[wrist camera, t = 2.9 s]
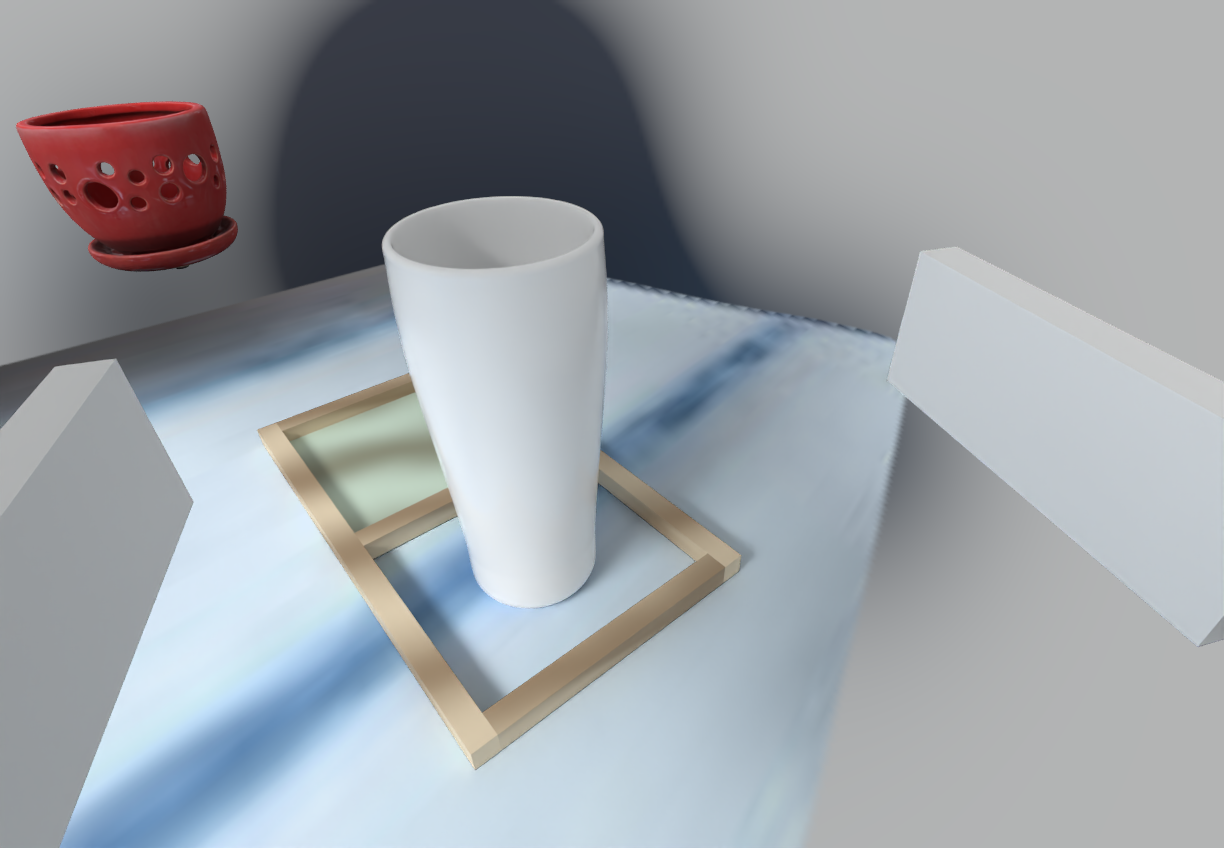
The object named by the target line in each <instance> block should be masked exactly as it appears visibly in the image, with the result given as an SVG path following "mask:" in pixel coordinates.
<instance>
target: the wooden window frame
mask: <svg viewBox="0 0 1224 848" xmlns="http://www.w3.org/2000/svg"><path fill="white" fill-rule="evenodd" d="M257 431H258V433H259V436H260V438H261V440H262V443H263V445H264V446H265V448H266V449H267V451H268V453H269V454H270V456H271V457H272V459H273V460H274V462H275V463H276V465H277V466H278V468H279V469H280V471H281V473H282V474H283V476H284V477H285V479H286V480H287V482H288V483H289V485H290V486H291V488H292V489H293V491H294V492H295V494H296V496H297V497H298V499H299V500H300V502H301V503H302V505H303V506H304V508H305V509H306V511H307V512H308V514H309V516H310V517H311V519H312V520H313V522H314V523H315V525H316V526H317V528H318V529H319V531H320V532H321V534H322V535H323V537H324V539H325V540H326V542H327V543H328V545H329V546H330V548H331V549H332V551H333V552H334V554H335V555H336V557H337V559H338V560H339V562H340V563H341V565H342V566H343V568H344V569H345V571H346V572H347V574H348V575H349V577H350V578H351V580H352V582H353V583H354V585H355V586H356V588H357V589H358V591H359V592H360V594H361V595H362V597H363V598H364V600H365V602H366V603H367V605H368V606H369V608H370V609H371V611H372V612H373V614H374V615H375V617H376V618H377V620H378V621H379V623H380V625H381V626H382V628H383V629H384V631H385V632H386V634H387V635H388V637H389V638H390V640H391V641H392V643H393V645H394V646H395V648H396V649H397V651H398V652H399V654H400V655H401V657H402V658H403V660H404V661H405V663H406V664H407V666H408V668H409V669H410V671H411V672H412V674H413V675H414V677H415V678H416V680H417V681H418V683H419V684H420V686H421V688H422V689H423V691H424V692H425V694H426V695H427V697H428V698H429V700H430V701H431V703H432V704H433V706H434V707H435V709H436V711H437V712H438V714H439V715H440V717H441V718H442V720H443V721H444V723H445V724H446V726H447V727H448V729H449V731H450V732H451V734H452V735H453V737H454V738H455V740H456V741H457V743H458V744H459V746H460V747H461V749H462V750H463V752H464V754H465V755H466V757H467V758H468V760H469V761H470V763H471V764H472V766H473V767H474V769H475V770H476V769H477V768H479V767H480V766H481V765H483V764H484V763H485V762H487V761H488V760H489V759H491V758H492V757H493V756H495V755H496V754H497V753H499V752H500V751H501V750H502V749H504V748H505V747H506V746H508V745H509V744H510V743H512V742H513V741H514V740H516V739H517V738H518V737H520V736H521V735H522V734H524V733H525V732H526V731H528V730H529V729H530V728H532V727H533V726H534V725H536V724H537V723H538V722H540V721H541V720H542V719H544V718H545V717H546V716H548V715H549V714H550V713H552V712H553V711H554V710H556V709H557V708H558V707H560V706H561V705H562V704H563V703H565V702H566V701H567V700H569V699H570V698H571V697H573V696H574V695H575V694H577V693H578V692H579V691H581V690H582V689H583V688H585V687H586V686H587V685H589V684H590V683H591V682H593V681H594V680H595V679H597V678H598V677H599V676H601V675H602V674H603V673H605V672H606V671H607V670H609V669H610V668H611V667H613V666H614V665H615V664H617V663H618V662H619V661H621V660H622V659H623V658H625V657H626V656H627V655H628V654H630V653H631V652H632V651H634V650H635V649H636V648H638V647H639V646H640V645H642V644H643V643H644V642H646V641H647V640H648V639H650V638H651V637H652V636H654V635H655V634H656V633H658V632H659V631H660V630H662V629H663V628H664V627H666V626H667V625H668V624H670V623H671V622H672V621H674V620H675V619H676V618H678V617H679V616H680V615H682V614H683V613H684V612H686V611H687V610H688V609H689V608H691V607H692V606H693V605H695V604H696V603H697V602H699V601H700V600H701V599H703V598H704V597H705V596H707V595H708V594H709V593H711V592H712V591H713V590H715V589H716V588H717V587H719V586H720V585H721V584H723V583H724V582H725V581H727V580H728V579H729V578H731V577H732V576H733V575H735V574H736V573H737V572H739V568H740V561H741V555H740V554H739V553H738V552H736V551H735V550H734V549H732V548H731V547H730V546H728V545H727V544H726V543H724V542H723V541H722V540H720V539H719V538H718V537H716V536H715V535H714V534H712V533H711V532H710V531H708V530H707V529H706V528H704V527H703V526H702V525H700V524H699V523H698V522H696V521H695V520H694V519H692V518H691V517H690V516H688V515H687V514H686V513H684V512H683V511H682V510H680V509H679V508H678V507H676V506H675V505H674V504H672V503H671V502H670V501H668V500H667V499H666V498H664V497H663V496H662V495H660V494H659V493H657V492H656V491H655V490H653V489H652V488H651V487H649V486H648V485H647V484H645V483H644V482H643V481H641V480H640V479H639V478H637V477H636V476H635V475H633V474H632V473H631V472H629V471H628V470H627V469H625V468H624V467H623V466H621V465H620V464H619V463H617V462H616V461H615V460H613V459H612V458H611V457H609V456H608V455H607V454H605V453H604V452H603V451H601V450H600V462H599V475H598V483H599V484H600V485H602V486H603V487H604V488H605V489H607V490H608V491H609V492H610V493H612V494H613V495H614V496H615V497H617V498H618V499H619V500H620V501H621V502H623V503H624V504H625V505H626V506H628V507H629V508H630V509H631V510H633V511H634V512H635V513H636V514H638V515H639V516H640V517H641V518H643V519H644V520H645V521H646V522H648V523H649V524H650V525H651V526H653V527H654V528H655V529H656V530H658V531H659V532H660V533H661V534H663V535H664V536H665V537H666V538H668V539H669V540H670V541H671V542H673V543H674V544H675V545H676V546H678V547H679V548H680V549H681V550H683V551H684V552H685V553H686V554H688V555H689V556H690V557H691V558H693V559H694V560H695V561H696V562H695V563H693V564H692V565H690V566H689V567H688V568H686V569H685V570H683V571H682V572H681V573H679V574H678V575H676V576H675V577H673V578H672V579H671V580H669V581H668V582H666V583H665V584H664V585H662V586H661V587H659V588H658V589H656V590H655V591H654V592H652V593H651V594H649V595H648V596H647V597H645V598H644V599H642V600H641V601H639V602H638V603H637V604H635V605H634V606H632V607H631V608H630V609H628V610H627V611H625V612H624V613H623V614H621V615H620V616H618V617H617V618H615V619H614V620H613V621H611V622H610V623H608V624H607V625H606V626H604V627H603V628H601V629H600V630H598V631H597V632H596V633H594V634H593V635H591V636H590V637H589V638H587V639H586V640H584V641H583V642H581V643H580V644H579V645H577V646H576V647H574V648H573V649H572V650H570V651H569V652H567V653H566V654H564V655H563V656H562V657H560V658H559V659H557V660H556V661H555V662H553V663H552V664H550V665H549V666H548V667H546V668H545V669H543V670H542V671H540V672H539V673H538V674H536V675H535V676H533V677H532V678H531V679H529V680H528V681H526V682H525V683H523V684H522V685H521V686H519V687H518V688H516V689H515V690H514V691H512V692H511V693H509V694H508V695H506V696H505V697H504V698H502V699H501V700H499V701H498V702H497V703H495V704H494V705H492V706H491V707H489V708H488V709H487V710H485V711H484V712H481V711H480V709H479V708H478V706H477V705H476V704H475V702H474V701H473V699H472V698H471V697H470V695H469V694H468V692H467V691H466V690H465V688H464V687H463V685H462V684H461V682H460V681H459V680H458V678H457V677H456V675H455V674H454V673H453V671H452V670H451V668H450V667H449V666H448V664H447V663H446V661H445V660H444V659H443V657H442V656H441V654H440V653H439V651H438V650H437V649H436V647H435V646H434V644H433V643H432V642H431V640H430V639H429V637H428V636H427V635H426V633H425V632H424V630H423V629H422V628H421V626H420V625H419V623H418V622H417V621H416V619H415V618H414V616H413V615H412V613H411V612H410V611H409V609H408V608H407V606H406V605H405V604H404V602H403V601H402V599H401V598H400V597H399V595H398V594H397V592H396V591H395V590H394V588H393V587H392V585H391V584H390V582H389V581H388V580H387V578H386V577H385V575H384V574H383V573H382V571H381V570H380V568H379V567H378V566H377V564H376V563H375V561H374V560H373V559H374V558H376V557H378V556H380V555H382V554H384V553H386V552H388V551H390V550H392V549H394V548H396V547H398V546H400V545H402V544H404V543H405V542H407V541H409V540H411V539H413V538H415V537H417V536H419V535H421V534H423V533H425V532H427V531H429V530H431V529H433V528H434V527H436V526H438V525H440V524H442V523H444V522H446V521H448V520H450V519H452V518H454V517H456V516H457V514H456V511H455V508H454V505H453V502H452V499H451V496H450V493H449V490H448V487H447V484H446V481H445V478H444V475H443V472H442V469H441V466H440V463H439V460H438V457H437V454H436V451H435V449H434V446H433V443H432V440H431V437H430V434H429V431H428V428H427V425H426V422H425V419H424V417H423V414H422V411H421V408H420V405H419V402H418V399H417V396H416V393H415V390H414V387H413V384H412V381H411V377H410V374H409V373H408V374H405V375H402V376H400V377H397V378H394V379H392V380H389V381H386V382H384V383H381V384H378V385H376V386H373V387H370V388H368V389H365V390H362V391H360V392H357V393H354V394H352V395H349V396H346V397H344V398H341V399H338V400H336V401H333V402H330V403H328V404H325V405H322V406H319V407H317V408H314V409H311V410H309V411H306V412H303V413H301V414H298V415H295V416H293V417H290V418H287V419H285V420H282V421H279V422H277V423H274V424H271V425H269V426H266V427H263V428H261V429H258V430H257Z"/></svg>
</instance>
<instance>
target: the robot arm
mask: <svg viewBox="0 0 1224 848" xmlns="http://www.w3.org/2000/svg"><path fill="white" fill-rule="evenodd" d="M887 381H888V382H889V383H890V384H891V385H893V386H894V387H895V388H896V389H897V390H898V391H900V392H901V393H902V394H903V395H904V396H905V397H907V398H908V399H909V400H910V401H911V402H913V403H914V404H915V405H916V406H917V407H918V408H919V409H921V410H922V411H923V412H924V413H925V414H926V415H928V416H929V417H930V418H931V419H932V420H933V421H935V422H936V423H937V424H938V425H939V426H940V427H942V428H943V429H944V430H945V431H946V432H947V433H949V434H950V435H951V436H952V437H953V438H954V439H956V440H957V441H958V442H959V443H960V444H961V445H963V446H964V447H965V448H966V449H967V450H968V451H970V452H971V453H972V454H973V455H974V456H975V457H977V458H978V459H979V460H980V461H981V462H982V463H984V464H985V465H986V466H987V467H988V468H989V469H991V470H992V471H993V472H994V473H995V474H997V475H998V476H999V477H1000V478H1001V479H1002V480H1003V481H1005V482H1006V483H1007V484H1008V485H1009V486H1010V487H1012V488H1013V489H1014V490H1015V491H1016V492H1017V493H1019V494H1020V495H1021V496H1022V497H1023V498H1024V499H1026V500H1027V501H1028V502H1029V503H1031V505H1033V506H1034V507H1035V508H1036V509H1037V510H1038V511H1040V512H1041V513H1042V514H1043V515H1044V516H1046V517H1047V518H1048V519H1049V520H1050V521H1051V522H1053V523H1054V524H1055V525H1056V526H1057V527H1058V528H1059V529H1061V530H1062V531H1063V532H1064V533H1065V534H1066V535H1068V536H1069V537H1070V538H1071V539H1072V540H1073V541H1075V542H1076V543H1077V544H1078V545H1079V546H1080V547H1082V548H1083V549H1084V550H1085V551H1086V552H1087V553H1089V554H1090V555H1091V556H1092V557H1093V558H1094V559H1096V560H1097V561H1098V562H1099V563H1100V564H1101V565H1103V566H1104V567H1105V568H1106V569H1107V570H1108V571H1110V572H1111V573H1112V574H1113V575H1114V576H1115V577H1117V578H1118V579H1119V580H1120V581H1121V582H1123V583H1124V584H1125V585H1126V586H1127V587H1128V588H1129V589H1131V590H1132V591H1133V592H1134V593H1135V594H1136V595H1138V596H1139V597H1140V598H1141V599H1142V600H1143V601H1145V602H1146V603H1147V604H1148V605H1149V606H1151V607H1152V608H1153V609H1154V610H1155V611H1156V612H1157V613H1159V614H1160V615H1161V616H1162V617H1163V618H1164V619H1166V620H1167V621H1168V622H1169V623H1170V624H1171V625H1173V626H1174V627H1175V628H1176V629H1177V630H1178V631H1180V632H1181V633H1182V634H1183V635H1184V636H1185V637H1187V638H1188V639H1189V640H1190V641H1191V642H1192V643H1194V644H1195V645H1196V646H1197V647H1200V646H1203V645H1206V644H1210V643H1213V642H1216V641H1220V640H1223V639H1224V382H1223V381H1221V380H1219V379H1217V378H1215V377H1213V376H1211V375H1209V374H1207V373H1205V372H1203V371H1201V370H1199V369H1197V368H1195V367H1193V366H1191V365H1189V364H1187V363H1185V362H1183V361H1181V360H1179V359H1177V358H1175V357H1173V356H1171V355H1169V354H1167V353H1166V352H1164V351H1162V350H1160V349H1158V348H1156V347H1154V346H1152V345H1150V344H1148V343H1146V342H1144V341H1142V340H1140V339H1138V338H1136V337H1134V336H1132V335H1130V334H1128V333H1126V332H1124V331H1122V330H1120V329H1118V328H1116V327H1114V326H1112V325H1110V324H1108V323H1106V322H1104V321H1102V320H1100V319H1099V318H1097V317H1095V316H1093V315H1091V314H1089V313H1087V312H1085V311H1083V310H1081V309H1079V308H1077V307H1075V306H1073V305H1070V304H1069V303H1067V302H1065V301H1063V300H1061V299H1059V298H1057V297H1055V296H1053V295H1051V294H1049V293H1047V292H1045V291H1043V290H1041V289H1039V288H1037V287H1035V286H1034V285H1031V284H1030V283H1027V282H1026V281H1024V280H1022V279H1020V278H1017V277H1015V276H1014V275H1012V274H1010V273H1008V272H1006V271H1004V270H1002V269H1000V268H998V267H996V266H994V265H992V264H990V263H988V262H986V261H984V260H982V259H980V258H978V257H976V256H974V255H972V254H970V253H968V252H966V251H964V250H963V249H961V248H959V247H950V248H942V249H935V250H927V251H920V255H919V258H918V262H917V266H916V270H915V274H914V277H913V281H912V285H911V289H910V293H909V296H908V300H907V304H906V308H905V312H904V316H903V319H902V323H901V327H900V331H899V335H898V338H897V342H896V346H895V350H894V353H893V357H892V361H891V365H890V369H889V372H888V376H887ZM192 505H193V500H192V498H191V496H190V494H189V493H188V491H187V489H186V487H185V485H184V483H183V481H182V480H181V478H180V476H179V474H178V472H177V470H176V469H175V467H174V465H173V463H172V461H171V459H170V458H169V456H168V454H167V452H166V450H165V448H164V446H163V445H162V443H161V441H160V439H159V437H158V435H157V434H156V432H155V430H154V428H153V426H152V424H151V422H150V421H149V419H148V417H147V415H146V413H145V411H144V410H143V408H142V406H141V404H140V402H139V400H138V398H137V397H136V395H135V393H134V391H133V389H132V387H131V386H130V384H129V382H128V380H127V378H126V376H125V375H124V373H123V371H122V369H121V367H120V365H119V363H118V362H117V360H116V359H108V360H101V361H93V362H86V363H78V364H71V365H63V366H56V367H54V368H53V369H52V371H51V372H50V373H49V374H48V375H47V376H46V378H45V379H44V380H43V381H42V382H41V383H40V384H39V386H38V387H37V388H36V389H35V390H34V391H33V393H32V394H31V395H30V396H29V397H28V398H27V399H26V401H25V402H24V403H23V404H22V405H21V406H20V408H19V409H18V410H17V411H16V412H15V413H14V415H13V416H12V417H11V418H10V419H9V420H8V421H7V423H6V424H5V425H4V426H3V427H2V428H1V430H0V848H59V847H60V844H61V842H62V839H63V836H64V834H65V831H66V829H67V826H68V824H69V821H70V818H71V816H72V813H73V811H74V808H75V806H76V803H77V800H78V798H79V795H80V793H81V790H82V788H83V785H84V782H85V780H86V777H87V775H88V772H89V770H90V767H91V764H92V762H93V759H94V757H95V754H96V752H97V749H98V746H99V744H100V741H101V739H102V736H103V734H104V731H105V728H106V726H107V723H108V721H109V718H110V716H111V713H112V710H113V708H114V705H115V703H116V700H117V698H118V695H119V692H120V690H121V687H122V685H123V682H124V680H125V677H126V674H127V672H128V669H129V667H130V664H131V662H132V659H133V656H134V654H135V651H136V649H137V646H138V644H139V641H140V638H141V636H142V633H143V631H144V628H145V626H146V623H147V620H148V618H149V615H150V613H151V610H152V608H153V605H154V602H155V600H156V597H157V595H158V592H159V590H160V587H161V584H162V582H163V579H164V577H165V574H166V572H167V569H168V566H169V564H170V561H171V559H172V556H173V553H174V551H175V548H176V546H177V543H178V541H179V538H180V535H181V533H182V530H183V528H184V525H185V523H186V520H187V517H188V515H189V512H190V510H191V507H192Z"/></svg>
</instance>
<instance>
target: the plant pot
mask: <svg viewBox="0 0 1224 848" xmlns="http://www.w3.org/2000/svg"><path fill="white" fill-rule="evenodd" d="M16 128H17V131H18V133H19V135H20V138H21V140H22V142H23V144H24V146H25V148H26V150H27V152H28V154H29V157H30V158H31V160H32V162H33V164H34V166H35V167H36V169H37V171H38V173H39V175H40V176H41V178H42V180H43V181H44V183H45V185H46V186H47V188H48V189H49V191H50V192H51V194H52V195H53V197H54V198H55V199H56V201H57V202H58V203H59V205H60V206H61V207H62V208H63V210H64V211H65V212H66V213H67V214H68V215H69V216H70V217H71V219H72V220H74V221H75V222H76V223H77V224H78V225H79V226H80V227H81V228H82V229H83V230H84V231H86V232H87V233H88V234H90V235H91V236H92V237H94V238H95V239H94V240H93V241H92V242H91V243H90V244H89V247H88V250H89V252H90V254H91V256H92V257H93V258H94V259H96V260H97V261H98V262H100V263H101V264H104V265H106V266H109V267H111V268H115V269H119V270H125V271H158V270H166V269H172V268H177V269H183V268H186V267H188V266H189V265H190V264H194V263H197V262H200V261H203V260H206V259H208V258H210V257H213V256H215V255H217V254H219V253H220V252H222V251H224V250H225V249H226V248H228V247H229V246H230V245H231V244H232V243H233V242H234V240H235V238H236V236H237V232H238V228H237V223H236V221H234V220H233V219H232V218H230V217H227V216H223V215H224V211H225V205H226V179H225V172H224V167H223V163H222V159H221V155H220V151H219V147H218V144H217V141H216V137H215V134H214V131H213V128H212V125H211V122H210V119H209V116H208V114H207V111H206V109H205V108H204V107H203V106H202V105H200V104H197V103H191V102H141V103H128V104H115V105H105V106H97V107H89V108H80V109H73V110H67V111H62V112H56V113H50V114H46V115H41V116H37V117H32V118H29V119H26V120H23V121H20V122H19V123H17V125H16ZM190 154H195V155H196V156H197V157H198V158H199V160H200V163H199V164H198V165H197V164H195V163H193V162H192V161H191V160H190V159H189V158H188V155H190ZM153 160H154V163H155V165H154V167H153ZM169 161H170V164H171V165H170V166H171V167H170V168H169V165H168V164H169ZM102 162H106V163H108V164H110V165H111V166H112V167H113V168H114V174H112V175H107V174H105V173H103V172H102V170H101V163H102ZM55 165H57V166H58V169H57V168H56V167H55Z"/></svg>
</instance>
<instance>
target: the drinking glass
mask: <svg viewBox="0 0 1224 848" xmlns="http://www.w3.org/2000/svg"><path fill="white" fill-rule="evenodd" d="M382 251H383V255H384V260H385V266H386V272H387V278H388V284H389V289H390V295H391V300H392V305H393V310H394V315H395V320H396V324H397V329H398V333H399V337H400V341H401V345H402V349H403V353H404V357H405V360H406V364H407V367H408V371H409V374H410V377H411V381H412V384H413V387H414V390H415V393H416V396H417V399H418V402H419V405H420V408H421V411H422V414H423V417H424V419H425V422H426V425H427V428H428V431H429V434H430V437H431V440H432V443H433V446H434V449H435V451H436V454H437V457H438V460H439V463H440V466H441V469H442V472H443V475H444V478H445V481H446V484H447V487H448V490H449V493H450V496H451V499H452V502H453V505H454V508H455V511H456V514H457V517H458V520H459V523H460V526H461V529H462V532H463V535H464V538H465V541H466V544H467V548H468V553H469V557H470V562H471V567H472V571H473V574H474V577H475V579H476V581H477V583H478V584H479V586H480V587H481V588H482V590H483V591H484V592H485V593H486V594H488V595H489V596H490V597H491V598H493V599H494V600H496V601H498V602H500V603H502V604H505V605H508V606H511V607H516V608H528V609H529V608H541V607H546V606H550V605H553V604H556V603H558V602H561V601H563V600H565V599H566V598H568V597H570V596H571V595H573V594H574V593H575V592H576V591H578V590H579V589H580V588H581V587H582V586H583V584H584V583H585V582H586V581H587V579H588V577H589V576H590V574H591V572H592V569H593V567H594V563H595V557H596V539H595V520H596V504H597V489H598V475H599V462H600V448H601V435H602V423H603V410H604V397H605V385H606V370H607V352H608V296H607V277H606V263H605V250H604V234H603V227H602V225H601V222H600V221H599V220H598V218H597V217H596V216H595V215H593V214H592V213H591V212H589V211H587V210H585V209H583V208H581V207H579V206H576V205H573V204H570V203H567V202H562V201H558V200H552V199H546V198H537V197H522V196H521V197H520V196H502V197H486V198H475V199H468V200H461V201H456V202H451V203H446V204H442V205H438V206H434V207H431V208H428V209H425V210H422V211H419V212H417V213H414V214H412V215H410V216H407V217H406V218H404V219H402V220H400V221H399V222H397V223H396V224H395V225H394V226H392V227H391V228H390V229H389V230H388V231H387V233H386V234H385V236H384V238H383V241H382Z"/></svg>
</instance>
